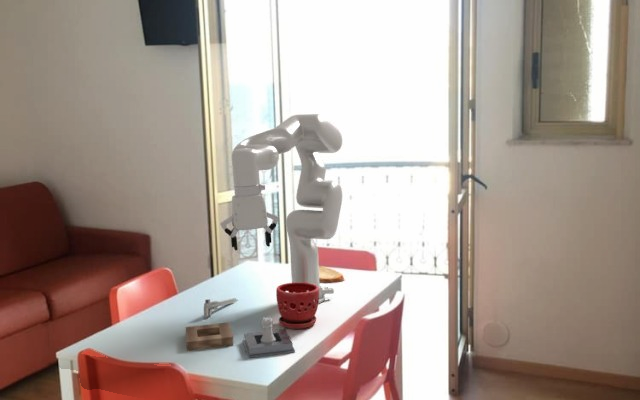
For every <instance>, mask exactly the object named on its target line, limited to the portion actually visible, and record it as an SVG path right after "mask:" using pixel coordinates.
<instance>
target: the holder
mask: <svg viewBox="0 0 640 400" xmlns="http://www.w3.org/2000/svg"><path fill="white" fill-rule="evenodd" d="M272 332H273V335H274V337H275V339H276V341H275V342H271V343H263V344H261V338H262V336H263V331H257V332H248V333H243V334H244V339H243V340H242V342H243V346H244V350H245V352H246V356H247V359H252V358H258V357H267V356H275V355H283V354H290V353H291V354H293V353H296V350H295V348H294V346H293V341H292V340H291V338H290V336H289V334H288V332H287V329H285V328H284V329H274V330H273V329H272Z"/></svg>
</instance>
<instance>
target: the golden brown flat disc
mask: <svg viewBox="0 0 640 400" xmlns="http://www.w3.org/2000/svg"><path fill="white" fill-rule="evenodd" d="M345 281H346V279H345V278H344V275H343V274H342V272H339V271H337V270H335V269H333V268H332V269H331V268H329V267H325V266H323V265H319V282H320V283H321V284H322V283H323V284H336V283H342V282H345Z"/></svg>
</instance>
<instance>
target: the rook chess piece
mask: <svg viewBox="0 0 640 400" xmlns="http://www.w3.org/2000/svg"><path fill="white" fill-rule="evenodd" d="M260 322H261V323H262V326H261V327H262V332H263V336H262V338H261V344H263V343H271V342H275V341H276V339H275V337H274V335H273V332H272V331H273V324H272V323H273V318H272V317H271V316H263V317H262V320H261V321H260Z"/></svg>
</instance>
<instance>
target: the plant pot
mask: <svg viewBox="0 0 640 400" xmlns="http://www.w3.org/2000/svg"><path fill="white" fill-rule="evenodd" d="M307 290H308V291H309V292H307ZM275 291H276V302H277V309H278V312H279V314H280V317H279V318H278V322H279V324H280V325H281V326H283V327H285V328H286V329H292V330H293V329H295V330H296V329H297V330H298V329H299V330H300V329H306V328H308V327H311V326H313V325H315V324H316V321H317V317H316V314H317V312H318V311H317V310H318V308H319V304H318V302H319V287H318V286H316V285H314V284H310V283H292V282H289V283H287V282H286V283H283V284H281V285H280V284H279V285H278V286H277V287H276V290H275ZM293 292H295V293H293ZM301 292H303V293H301ZM314 299H315V302H314Z"/></svg>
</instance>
